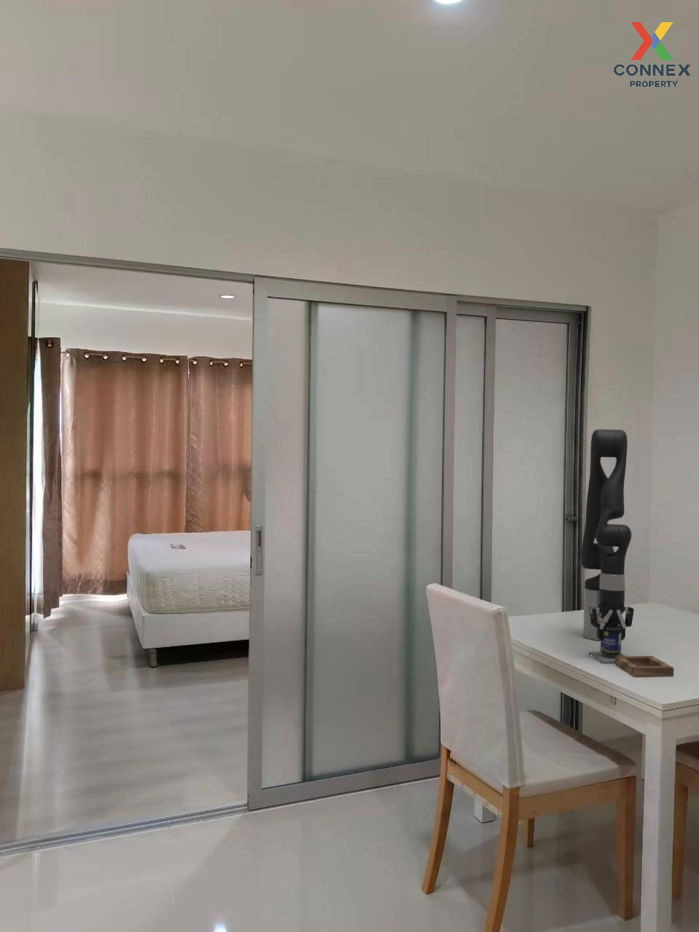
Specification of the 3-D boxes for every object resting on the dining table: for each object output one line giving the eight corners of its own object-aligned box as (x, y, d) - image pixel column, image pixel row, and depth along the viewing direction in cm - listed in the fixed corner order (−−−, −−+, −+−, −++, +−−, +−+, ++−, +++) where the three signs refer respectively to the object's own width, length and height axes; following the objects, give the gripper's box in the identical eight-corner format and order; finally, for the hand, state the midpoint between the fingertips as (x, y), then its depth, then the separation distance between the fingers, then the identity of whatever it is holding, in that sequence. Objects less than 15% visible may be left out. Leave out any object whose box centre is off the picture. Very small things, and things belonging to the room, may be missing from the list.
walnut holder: (615, 664, 221) (615, 656, 221) (651, 663, 223) (652, 655, 223) (634, 677, 209) (635, 668, 209) (673, 676, 211) (673, 667, 211)
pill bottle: (598, 653, 227) (598, 618, 226) (603, 648, 232) (604, 615, 231) (618, 656, 223) (619, 621, 223) (623, 652, 228) (623, 617, 228)
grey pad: (588, 654, 232) (588, 652, 232) (617, 653, 233) (617, 651, 233) (602, 663, 222) (602, 661, 222) (633, 663, 223) (633, 660, 223)
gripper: (627, 584, 231) (626, 636, 232) (585, 585, 230) (584, 637, 230) (639, 589, 224) (638, 642, 225) (595, 589, 222) (594, 643, 223)
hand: (610, 639), depth 227 cm, fingers closed on pill bottle, 6 cm apart
